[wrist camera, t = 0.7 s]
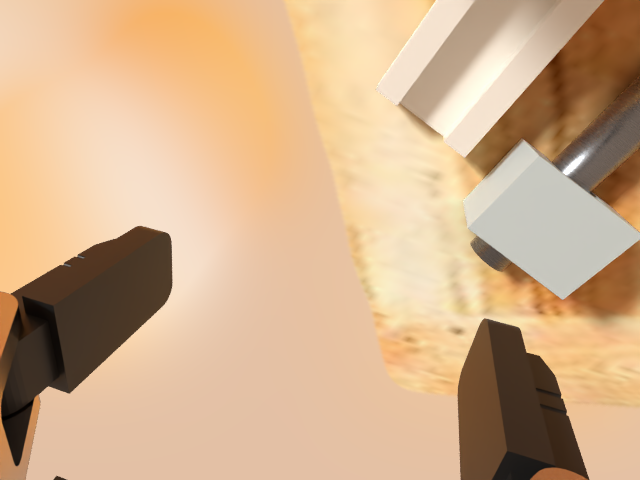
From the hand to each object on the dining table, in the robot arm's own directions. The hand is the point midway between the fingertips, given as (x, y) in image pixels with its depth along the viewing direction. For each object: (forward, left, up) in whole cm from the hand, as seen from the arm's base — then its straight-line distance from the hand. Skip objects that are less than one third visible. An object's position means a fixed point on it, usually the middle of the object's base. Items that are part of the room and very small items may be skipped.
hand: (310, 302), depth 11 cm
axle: (-5, +11, -25) cm, 28 cm away
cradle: (-9, +1, -24) cm, 26 cm away
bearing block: (-2, +11, -24) cm, 27 cm away
